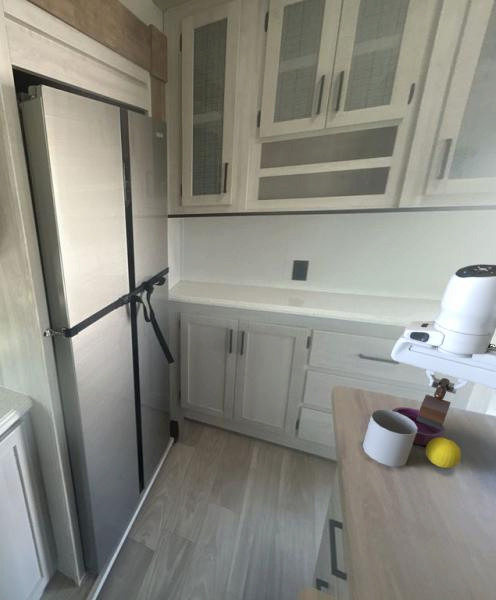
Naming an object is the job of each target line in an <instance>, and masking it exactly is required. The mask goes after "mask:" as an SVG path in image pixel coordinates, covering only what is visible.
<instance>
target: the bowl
mask: <svg viewBox="0 0 496 600" xmlns="http://www.w3.org/2000/svg"><path fill="white" fill-rule="evenodd" d="M419 410H420V409H417V408H411V407H405V406H404V407H403V406H402V407H396V408H393V409H392V410H391V411H394V412H398V413H400V414H402V415H404V416H406V417H408V418H409V419H411V420H412V421H413V422H415V424H416V426H417V427H418V430H417V433H416V436H415V438H414V441H413V444H415V445H418V446H425V447H426V446H427V444H428V443H429V442H430V441H431V440H432V439H434V438H444V437H443V436H444V434H445V431H446V428H445V426H444V424H443V425H442V428H441V429H438V428H435V427H433V426H430V425H427V424H425V423H422V422H419V421H417V417H418V414H419Z"/></svg>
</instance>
